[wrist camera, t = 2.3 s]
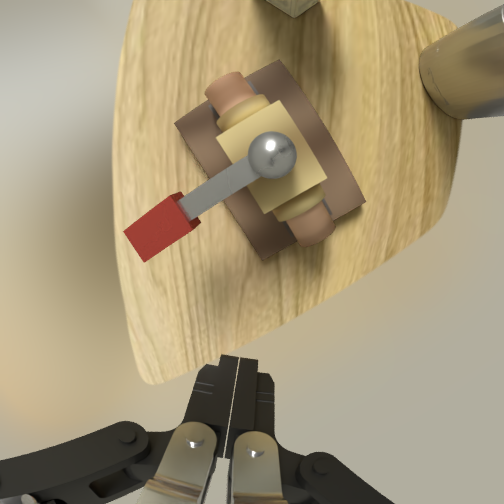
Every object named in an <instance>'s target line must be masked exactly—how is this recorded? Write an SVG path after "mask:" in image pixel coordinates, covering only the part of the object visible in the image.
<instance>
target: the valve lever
mask: <svg viewBox="0 0 504 504" xmlns="http://www.w3.org/2000/svg"><path fill="white" fill-rule="evenodd" d="M296 159H297V152H296V148H295V145H294V143H293V142H292V141H291V139H290V138H288V137H287V136H286V135H284V134H282V133H279V132H275V131H270V132H265V133H262V134H260V135H258V136H257V137H256V138H255V139H254V140H253V141H252V142H251V144H250V146H249V149H248V155H247V156H245V157H244V158H242V159H241V160H239V161H237V162H236V163H234V164H233V165H231V166H229V167H228V168H226V169H225V170H223V171H222V172H220V173H218V174H217V175H215V176H214V177H212V178H211V179H209V180H208V181H206V182H205V183H203V184H202V185H200V186H199V187H197V188H196V189H194V190H193V191H191V192H190V193H189V194H187V195H186V196H184V195H183V194H182V192H178V193H175V194H173V195H170V196H169V197H167V198H166V199H165V200H163V201H162V202H160V203H159V204H158V205H156V206H155V207H154V208H152V209H151V210H150V211H149V212H147V213H146V214H145V215H143V216H142V217H141V218H139V219H138V220H137V221H136V222H134V223H133V224H132V225H131V226H129V227H128V228H127V229H126V230H124V231H123V232H124V233H125V235H126V236H127V238H128V239H129V241H130V242H131V244H132V245H133V247H134V248H135V250H136V251H137V253H138V254H139V256H140V257H141V259H142V260H143V262H144V263H145V262H146V261H147V260H149V259H150V258H152V257H153V256H155V255H156V254H158V253H159V252H161V251H162V250H164V249H165V248H166V247H168V246H169V245H171V244H172V243H174V242H175V241H177V240H178V239H180V238H181V237H183V236H185V235H186V234H188V233H189V232H191V231H192V230H193V229H195V228H196V227H197V226H198V225H199V224H200V223H201V222H200V220H199V218H198V217H197V216H199V215H200V214H202V213H203V212H205V211H206V210H208V209H210V208H211V207H213V206H214V205H216V204H217V203H219V202H221V201H222V200H224V199H225V198H227V197H228V196H230V195H232V194H233V193H235V192H236V191H238V190H240V189H241V188H243V187H245V186H246V185H248V184H250V183H251V182H253V181H254V180H256V179H258V178H259V177H261V176H262V177H264V178H268V179H277V178H281V177H283V176H285V175H287V174H288V173H289V172H290V171H291V170H292V169H293V167H294V165H295V163H296Z"/></svg>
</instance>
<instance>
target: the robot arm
mask: <svg viewBox="0 0 504 504" xmlns="http://www.w3.org/2000/svg"><path fill="white" fill-rule="evenodd" d="M419 68H420V75H421V78H422V81H423V84H424V86H425V88H426V90H427V92H428V94H429V95H430V97H431V98H432V100H433V101H434V102H435V103H436V105H437V106H438V107H439V108H440V109H441V110H443V111H444V112H445V113H446V114H448V115H449V116H451V117H454V118H456V119H462V120H464V119H472V118H483V117H497V116H504V4H503V5H501V6H499V7H497V8H495V9H493V10H491V11H489V12H487V13H485V14H483V15H481V16H480V17H478V18H476V19H474V20H472V21H470V22H468V23H467V24H465V25H463V26H461V27H460V28H458V29H456V30H454V31H453V32H451V33H449V34H447V35H446V36H444V37H442V38H440V39H439V40H437V41H436V42H434V43H432V44H431V45H429V46H428V47H426V48H425V49H424V50H423V52H422V53H421V56H420V60H419ZM238 359H239V357H235V356H229V355H223V354H221V357H220V362H219V365H218V366H214V365H209V364H206V365H205V366H204V367H203V368H202V369H201V370H200V371H199V372H198V375H197V378H196V381H195V384H194V387H193V391H192V394H191V397H190V400H189V403H188V407H187V410H186V413H185V416H184V419H183V421H182V423H181V424H180V425H179V426H178V427H177V428H175V429H173V430H170V431H166V432H146V431H145V429H144V428H143V427H142V426H140V425H138V424H137V423H134V422H130V421H122V422H118V423H115V424H113V425H110V426H108V427H106V428H103V429H100V430H98V431H95V432H93V433H90V434H87V435H85V436H82V437H79V438H76V439H74V440H71V441H68V442H65V443H62V444H59V445H56V446H53V447H49V448H47V449H43V450H39V451H36V452H33V453H29V454H25V455H21V456H18V457H14V458H10V459H5V460H1V461H0V504H106V503H108V502H111V501H113V500H115V499H118V498H120V497H122V496H125V495H127V494H129V493H131V492H133V491H135V490H137V489H140V488H142V487H144V488H143V490H142V492H141V494H140V497H139V499H138V501H137V503H136V504H204V503H205V500H206V496H207V493H208V489H209V485H210V482H211V479H212V475H213V473H214V471H215V468H216V462H217V457H220V458H223V453H224V447H225V441H226V435H227V429H228V423H229V417H230V410H231V404H232V398H233V391H234V385H235V379H236V372H237V366H238ZM257 371H258V360H255V359H248V358H240V363H239V369H238V375H237V381H236V387H235V393H234V400H233V407H232V413H231V420H230V426H229V433H228V440H227V446H226V452H225V458H227V459H230V463H229V471H228V475H227V495H226V496H227V497H226V504H394V503H393V502H392V501H390V500H389V499H387V498H386V497H385V496H383V495H381V493H379V492H378V491H377V490H375V489H374V488H373V487H371V486H370V485H369V484H367V483H366V482H365V481H364V480H362V479H361V478H360V477H358V476H357V475H356V474H354V473H353V472H352V471H351V470H350V469H349V468H347V467H346V466H345V465H344V464H343V463H341V462H340V461H339V460H338V459H337V458H335V457H334V456H333V455H330V454H328V453H325V452H314V453H311V454H309V455H307V456H304V455H300V454H296V453H294V452H291V451H288V450H286V449H285V448H283V447H282V446H281V445H280V444H279V443H278V442H277V440H276V438H275V434H274V382H273V380H272V378H271V376H270V374H268V373H260V372H257Z"/></svg>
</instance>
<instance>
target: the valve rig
mask: <svg viewBox="0 0 504 504" xmlns="http://www.w3.org/2000/svg"><path fill="white" fill-rule="evenodd" d="M205 95H206V97H207V98H208V100H207V101H205V102H204V103H202V104H201V105H199V106H198V107H196V108H195V109H193V110H192V111H190V112H189V113H188V114H186V115H185V116H183V117H182V118H181V119H179V120H178V121H176V122H175V123H174V124H175V126H176V127H177V129H178V130H179V132H180V133H181V135H182V136H183V138H184V139H185V141H186V143H187V144H188V146H189V147H190V149H191V150H192V152H193V153H194V155H195V157H196V158H197V160H198V161H199V163H200V164H201V166H202V167H203V169H204V170H205V172H206V174H207V175H208V177H209V178H210V179H211V178H212V177H214V176H215V175H217V174H218V173H220V172H222V171H223V170H225V169H226V168H228V167H229V166H231V165H233V164H234V163H236V162H237V161H239V160H241V159H242V158H244V157H245V156H247V155H248V149H249V146H250V144H251V142H252V141H253V140H254V139H255V138H256V137H257V136H258V135H260V134H262V133H265V132H270V131H275V132H279V133H282V134H284V135H286V136H287V137H288V138H290V139H291V141H292V142H293V143H294V145H295V148H296V152H297V159H296V163H295V165H294V167H293V169H292V170H291V171H290V172H289V173H288V174H287V175H285V176H283V177H281V178H277V179H268V178H264V177H262V176H261V177H259V178H258V179H256V180H254V181H253V182H251V183H250V184H248V185H246V186H245V187H243V188H241V189H240V190H238V191H236V192H235V193H233V194H232V195H230V196H228V197H227V198H225V199H224V202H225V203H226V205H227V206H228V208H229V209H230V211H231V213H232V214H233V216H234V217H235V219H236V220H237V222H238V223H239V225H240V227H241V228H242V230H243V231H244V233H245V234H246V236H247V238H248V239H249V241H250V242H251V244H252V245H253V247H254V248H255V250H256V252H257V253H258V255H259V256H260V258H261V259H262V260H264V259H266V258H268V257H270V256H271V255H273V254H275V253H277V252H279V251H280V250H282V249H284V248H286V247H288V246H289V245H291V244H293V243H295V242H296V241H298V242H299V244H300V246H302V247H307V246H311V245H314V244H316V243H318V242H320V241H322V240H324V239H325V238H327V237H328V236H329V235H330V234H331V233H332V232H333V231H334V230H335V224H334V222H333V221H334V220H335V219H337V218H339V217H341V216H342V215H344V214H346V213H348V212H349V211H351V210H353V209H355V208H356V207H358V206H360V205H362V204H363V203H365V202H366V200H365V198H364V196H363V194H362V192H361V190H360V188H359V186H358V184H357V182H356V180H355V178H354V176H353V175H352V173H351V171H350V169H349V167H348V165H347V163H346V161H345V160H344V158H343V156H342V154H341V152H340V151H339V149H338V147H337V145H336V144H335V142H334V140H333V139H332V137H331V135H330V133H329V132H328V130H327V129H326V127H325V125H324V124H323V122H322V120H321V119H320V117H319V116H318V114H317V112H316V111H315V109H314V108H313V106H312V105H311V103H310V102H309V100H308V99H307V97H306V96H305V94H304V93H303V91H302V90H301V88H300V87H299V86H298V84H297V83H296V81H295V80H294V78H293V77H292V76H291V74H290V73H289V72H288V70H287V69H286V68H285V66H284V65H283V64H282V62H281V61H280V60H277V61H275V62H273V63H271V64H269V65H267V66H265V67H264V68H262V69H260V70H258V71H256V72H254V73H252V74H250V75H249V76H247V77H245V78H244V77H243V76H242V74H241V73H240V72H232V73H229V74H226V75H224V76H222V77H220V78H219V79H217V80H216V81H214V82H213V83H212V84H211V85H210V86H209V87H208V88H207V89H206V91H205Z"/></svg>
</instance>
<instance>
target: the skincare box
mask: <svg viewBox="0 0 504 504" xmlns="http://www.w3.org/2000/svg"><path fill="white" fill-rule="evenodd" d="M266 1H267V2H269V3H271V4H272V5H274V6H276V7H277V8H279V9H280V10H282V11H283V12H285V13H287V14H288V15H290V16H291V17H293V18H296V17H297V16H299V15H300V14H302V13H303V12H305V11H306V10H307V9H309V8H310V7H312V6H313V5H315V4H316V3H317V2H319V1H320V0H266Z"/></svg>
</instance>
